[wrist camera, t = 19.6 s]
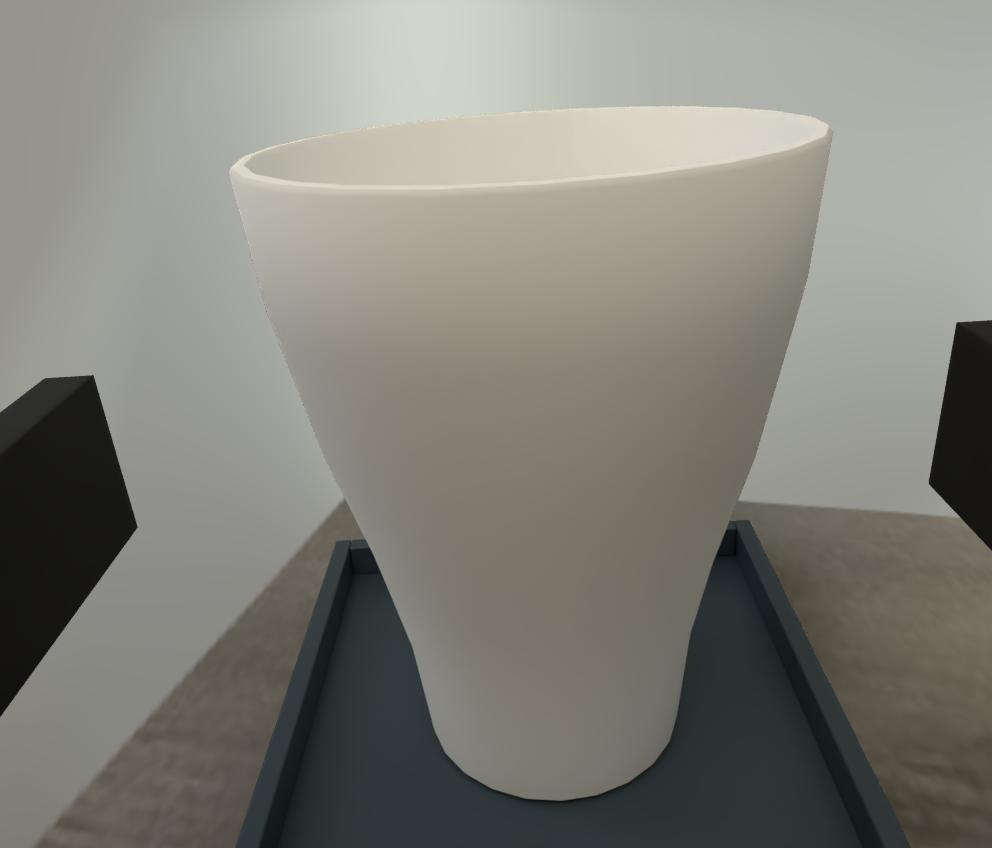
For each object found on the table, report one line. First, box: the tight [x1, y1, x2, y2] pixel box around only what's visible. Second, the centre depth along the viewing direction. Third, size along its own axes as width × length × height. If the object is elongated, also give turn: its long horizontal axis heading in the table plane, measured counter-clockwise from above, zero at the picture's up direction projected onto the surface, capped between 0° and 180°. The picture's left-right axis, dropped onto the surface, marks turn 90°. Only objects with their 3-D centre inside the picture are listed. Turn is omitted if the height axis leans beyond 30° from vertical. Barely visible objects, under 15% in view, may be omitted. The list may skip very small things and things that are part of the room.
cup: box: [229, 106, 833, 801], centre depth 18 cm, size 10×10×14 cm
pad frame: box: [235, 520, 911, 848], centre depth 21 cm, size 13×13×2 cm
